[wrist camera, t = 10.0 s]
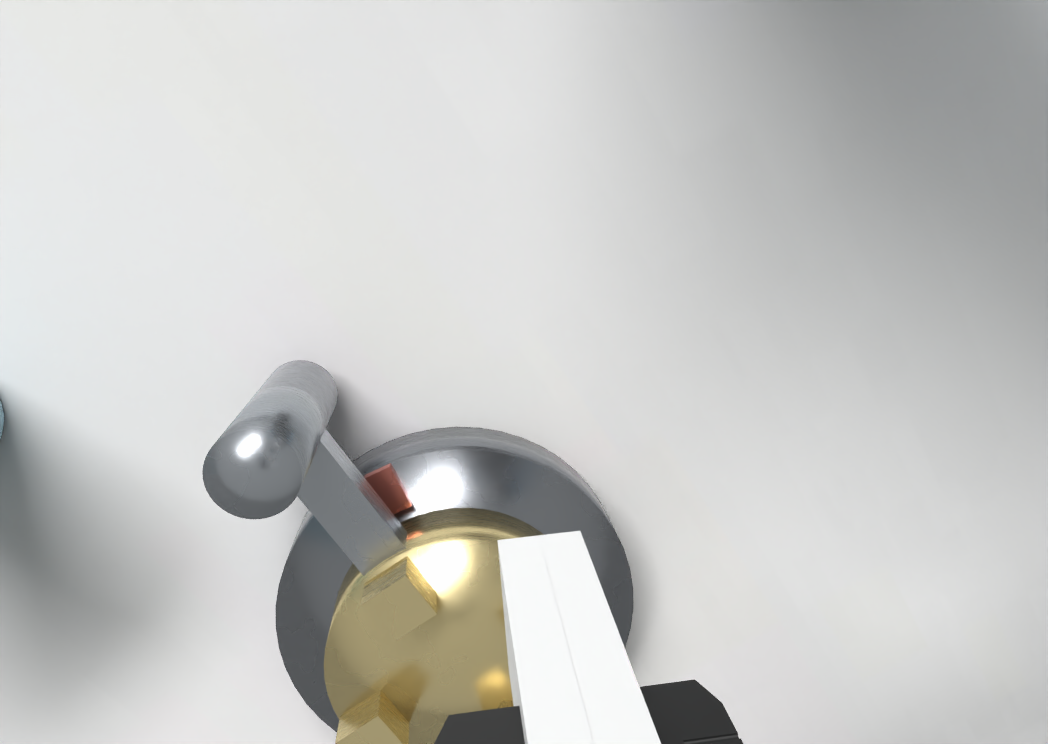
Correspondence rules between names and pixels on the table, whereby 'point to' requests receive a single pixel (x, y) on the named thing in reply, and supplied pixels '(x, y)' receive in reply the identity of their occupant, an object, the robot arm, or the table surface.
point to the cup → (1, 419)
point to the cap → (434, 484)
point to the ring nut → (376, 569)
